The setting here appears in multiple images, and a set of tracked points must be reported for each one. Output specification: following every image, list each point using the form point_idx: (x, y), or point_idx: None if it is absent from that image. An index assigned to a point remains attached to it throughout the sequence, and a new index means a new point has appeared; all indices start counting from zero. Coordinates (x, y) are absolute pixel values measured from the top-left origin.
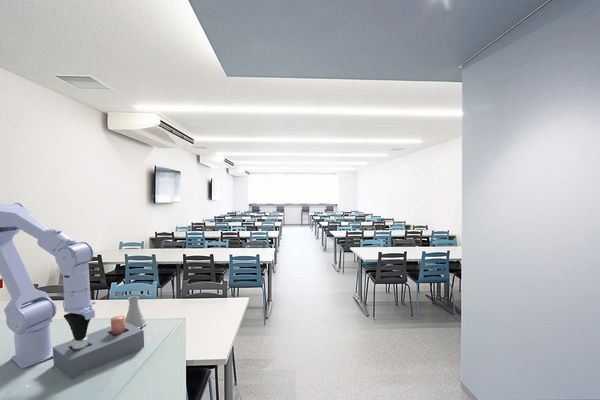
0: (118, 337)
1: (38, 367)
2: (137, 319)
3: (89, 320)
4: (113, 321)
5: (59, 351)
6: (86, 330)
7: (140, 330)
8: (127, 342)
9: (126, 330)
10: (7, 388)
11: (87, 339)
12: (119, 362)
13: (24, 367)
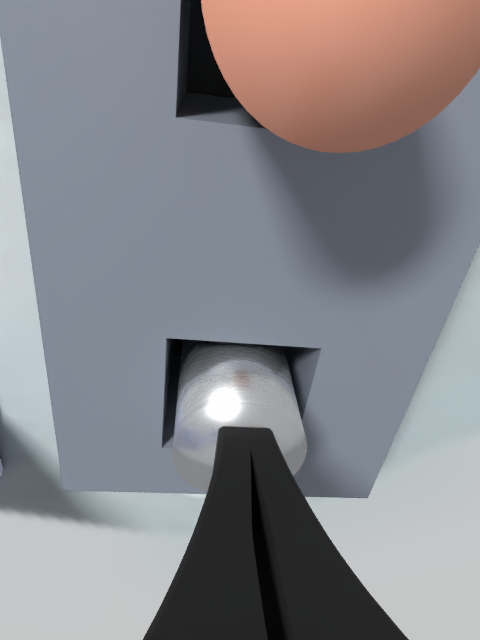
0: (454, 137)
1: (48, 432)
2: None
3: (388, 619)
4: (383, 143)
5: (181, 489)
6: (298, 488)
7: None
8: None
9: None
10: (144, 527)
11: (293, 410)
12: None
13: (1, 470)
